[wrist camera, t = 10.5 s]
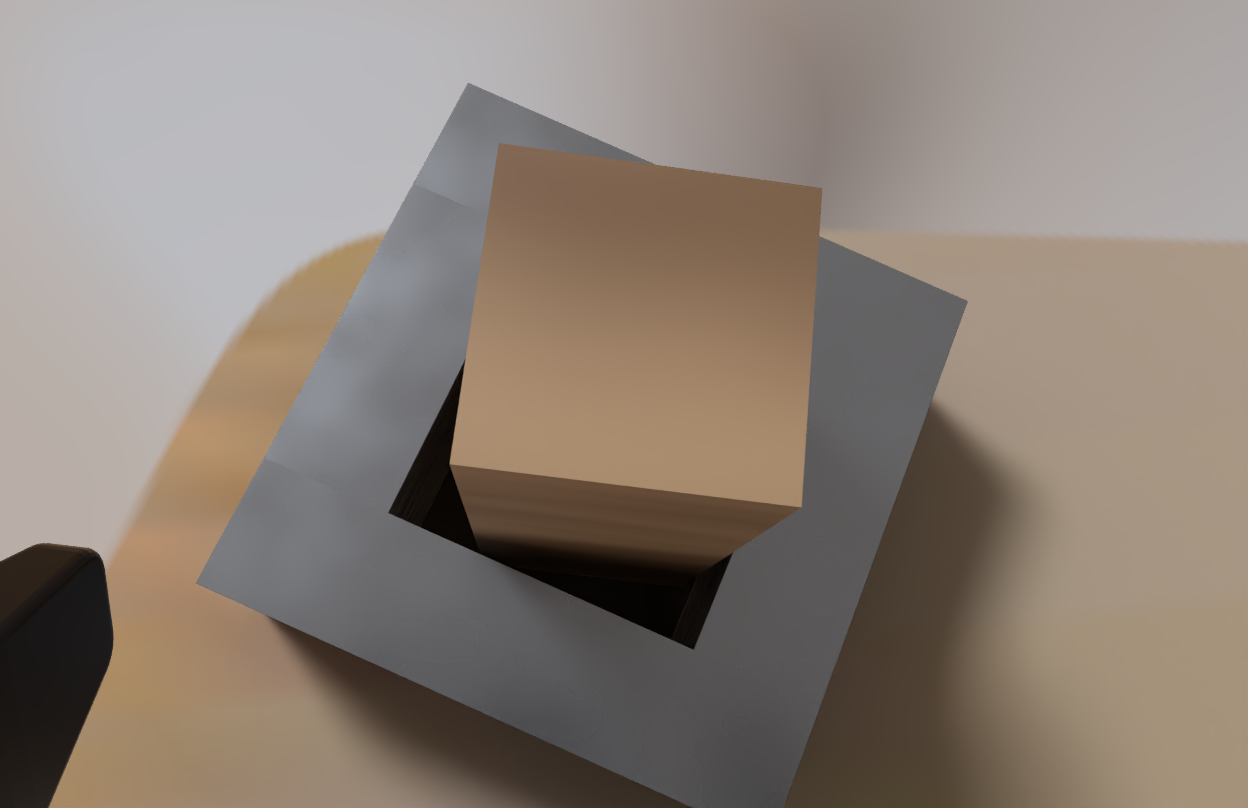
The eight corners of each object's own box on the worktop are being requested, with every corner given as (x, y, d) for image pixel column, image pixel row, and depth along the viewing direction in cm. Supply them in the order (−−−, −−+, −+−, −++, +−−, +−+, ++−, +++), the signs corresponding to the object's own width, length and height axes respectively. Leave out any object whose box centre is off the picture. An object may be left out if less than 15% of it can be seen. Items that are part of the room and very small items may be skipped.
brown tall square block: (680, 586, 22) (800, 506, 12) (483, 563, 22) (449, 464, 12) (697, 398, 23) (821, 188, 13) (510, 374, 23) (499, 143, 13)
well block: (725, 813, 21) (770, 842, 17) (256, 602, 21) (195, 583, 17) (895, 365, 23) (967, 300, 20) (477, 181, 24) (468, 82, 20)
